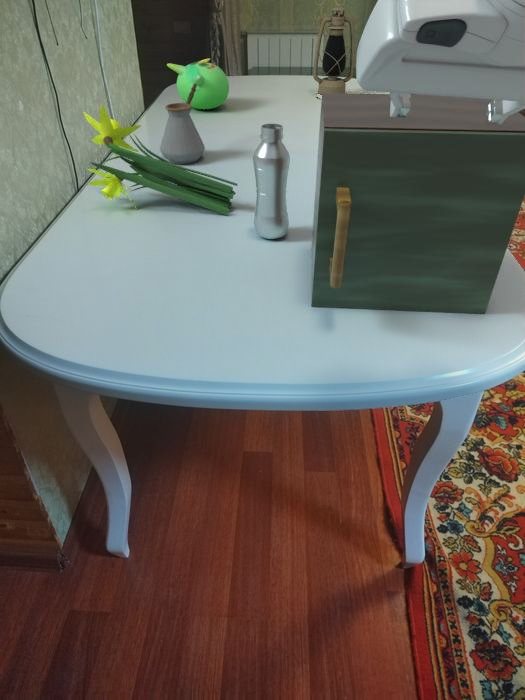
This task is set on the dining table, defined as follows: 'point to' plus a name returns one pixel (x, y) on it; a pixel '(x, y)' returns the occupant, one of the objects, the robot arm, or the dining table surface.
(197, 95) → the toy bird
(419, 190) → the cupboard door
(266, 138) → the silver bottle
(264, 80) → the dining table surface
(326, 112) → the cupboard
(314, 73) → the lantern
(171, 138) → the coffee pot
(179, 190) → the daffodil flowers
